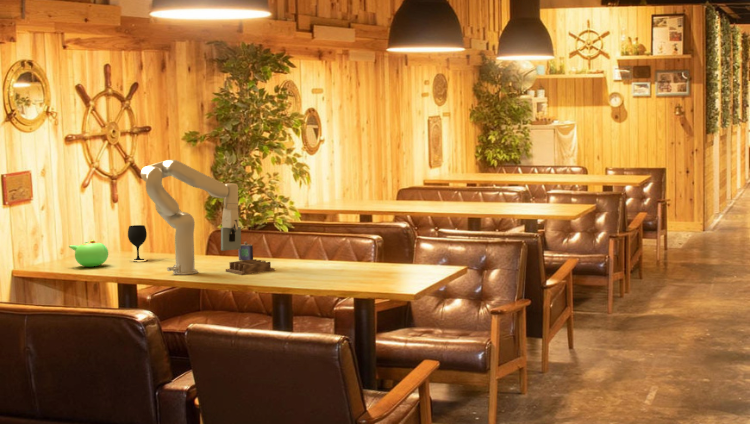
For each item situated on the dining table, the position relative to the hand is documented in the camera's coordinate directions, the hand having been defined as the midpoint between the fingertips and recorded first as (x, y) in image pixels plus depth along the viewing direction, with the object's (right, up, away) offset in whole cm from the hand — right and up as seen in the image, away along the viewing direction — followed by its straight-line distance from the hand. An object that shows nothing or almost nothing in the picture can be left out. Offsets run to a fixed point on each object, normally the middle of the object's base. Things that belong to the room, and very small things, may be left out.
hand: (230, 241), depth 506 cm
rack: (+11, -15, -8) cm, 21 cm away
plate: (0, -5, 0) cm, 5 cm away
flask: (+4, -12, +33) cm, 35 cm away
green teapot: (-79, -15, +17) cm, 82 cm away
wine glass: (-58, -13, +37) cm, 70 cm away
